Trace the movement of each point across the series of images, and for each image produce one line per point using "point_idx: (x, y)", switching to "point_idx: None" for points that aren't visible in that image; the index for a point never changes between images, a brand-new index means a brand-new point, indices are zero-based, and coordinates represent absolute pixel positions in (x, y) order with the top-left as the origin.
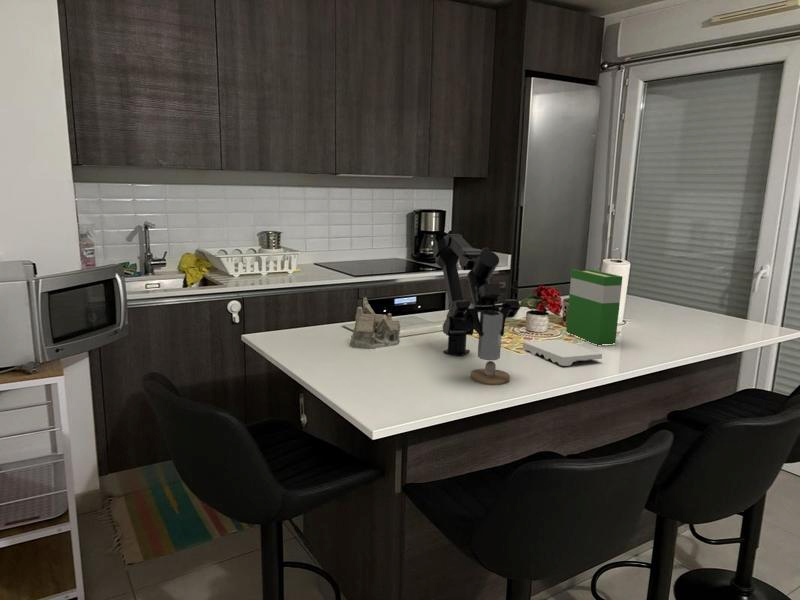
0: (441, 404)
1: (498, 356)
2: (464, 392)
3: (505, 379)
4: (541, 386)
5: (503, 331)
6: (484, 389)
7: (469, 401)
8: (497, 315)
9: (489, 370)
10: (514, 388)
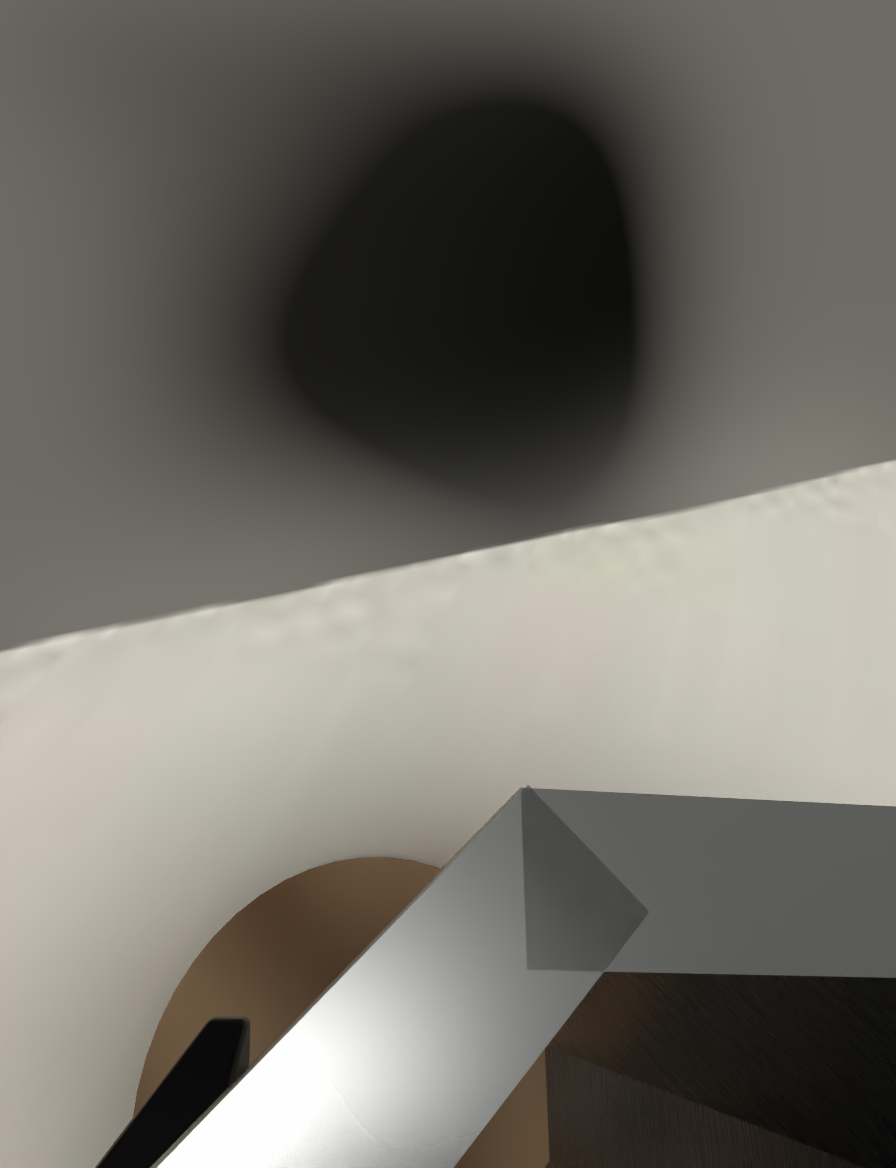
0: (870, 579)
1: (334, 979)
2: (704, 739)
3: (281, 893)
4: (5, 744)
5: (185, 1070)
6: (535, 771)
7: (700, 583)
8: (665, 802)
9: None
10: (278, 744)
